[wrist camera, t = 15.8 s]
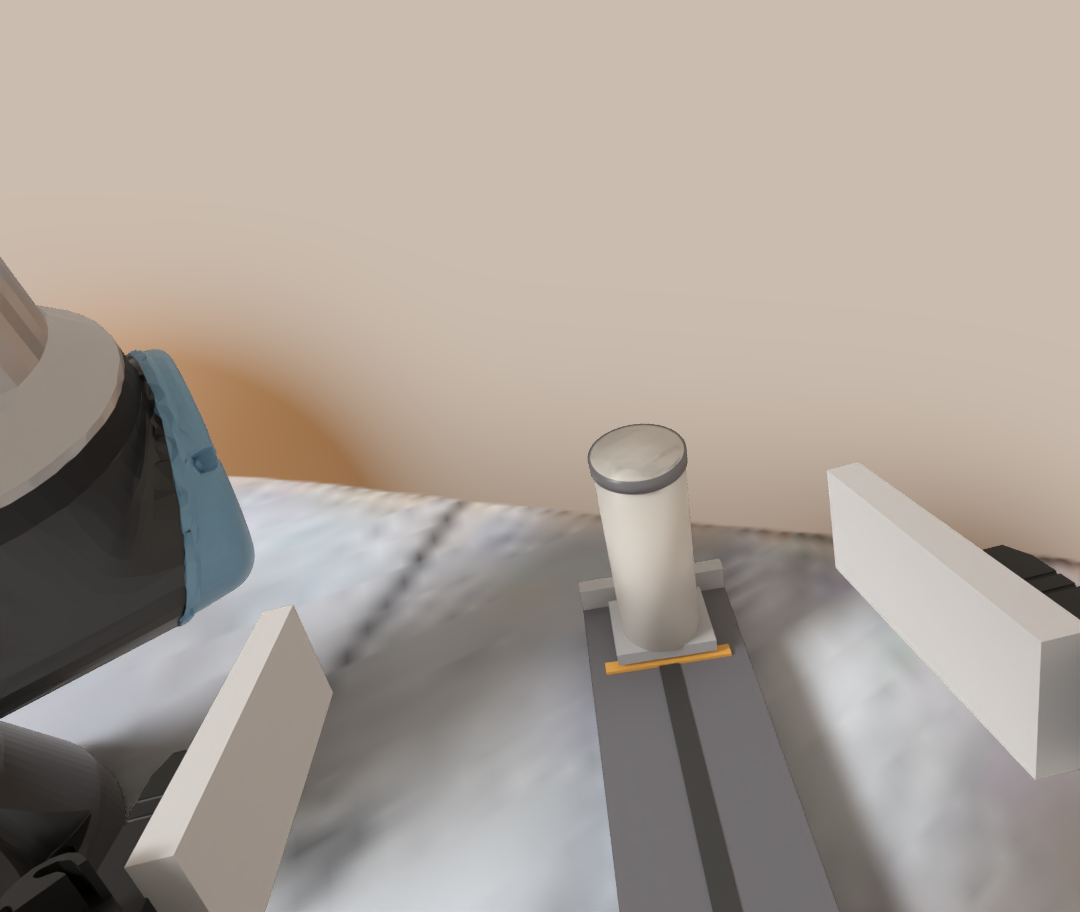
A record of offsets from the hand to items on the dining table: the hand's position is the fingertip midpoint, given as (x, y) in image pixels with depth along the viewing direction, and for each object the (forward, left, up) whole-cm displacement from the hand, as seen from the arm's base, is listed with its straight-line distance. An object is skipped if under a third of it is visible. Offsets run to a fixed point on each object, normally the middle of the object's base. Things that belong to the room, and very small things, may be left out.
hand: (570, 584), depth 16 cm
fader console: (-1, +5, -20) cm, 21 cm away
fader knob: (-6, +11, -17) cm, 21 cm away
